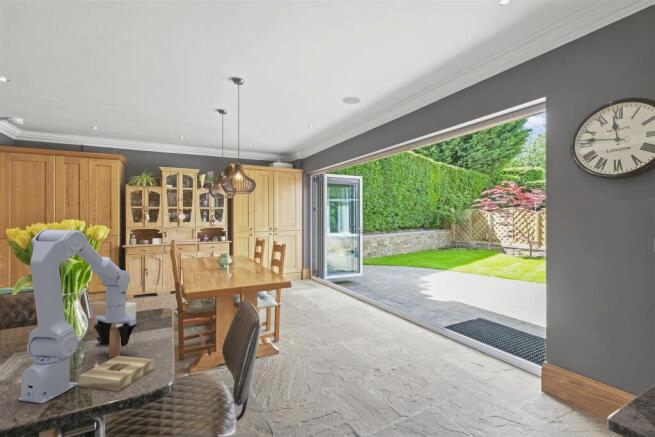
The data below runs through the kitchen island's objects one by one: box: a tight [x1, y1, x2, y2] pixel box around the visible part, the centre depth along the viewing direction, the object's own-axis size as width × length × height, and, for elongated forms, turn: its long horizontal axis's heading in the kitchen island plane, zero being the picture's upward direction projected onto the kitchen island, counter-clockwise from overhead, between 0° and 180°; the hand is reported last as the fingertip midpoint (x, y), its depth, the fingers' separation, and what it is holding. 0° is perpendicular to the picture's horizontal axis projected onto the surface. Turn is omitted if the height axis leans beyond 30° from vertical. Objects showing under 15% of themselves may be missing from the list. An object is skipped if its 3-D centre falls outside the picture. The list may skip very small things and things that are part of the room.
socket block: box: [78, 355, 154, 392], centre depth 93 cm, size 13×13×3 cm
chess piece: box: [95, 314, 110, 348], centre depth 117 cm, size 6×6×12 cm
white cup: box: [115, 301, 138, 327], centre depth 135 cm, size 8×8×10 cm
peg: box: [108, 326, 121, 359], centre depth 107 cm, size 3×3×10 cm
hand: (114, 344), depth 107 cm, fingers open, 7 cm apart
